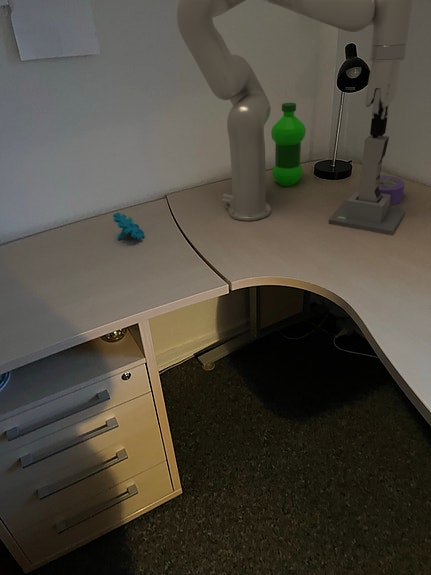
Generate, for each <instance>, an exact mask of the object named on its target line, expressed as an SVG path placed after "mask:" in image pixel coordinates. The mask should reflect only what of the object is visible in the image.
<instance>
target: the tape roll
mask: <svg viewBox="0 0 431 575" xmlns="http://www.w3.org/2000/svg"><path fill="white" fill-rule="evenodd" d="M379 190H380V193H383V194H389V195H391V197H390V203H389V206H393V205H398V204H399V203H401V202H402V201H403V196H404V192H405V181H404V180H403V179H401V178H400V177H397V176H392V175H385V174H384V175H381V174H380V180H379Z"/></svg>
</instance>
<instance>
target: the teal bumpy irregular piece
mask: <svg viewBox="0 0 431 575" xmlns="http://www.w3.org/2000/svg"><path fill="white" fill-rule="evenodd" d="M112 217H113V222H114V223H116V224H117V228H119V229H121V231H120V233H119V234H118V235H117V237H116V240H117V241H120V240H121V239H122V238H123V237H124V235H128V234H129V233H130V234H131V236H130V237H132V238H133V239H136V238H137V240H142V239H143V238H144V237H145V234H144V230H143V229H141V228H140V224H138V223H135V222H134V220H133V218H132V217H131V216H128V217H127V215H126V214H124V213H122V214H121V213H120V212H118V211H117V212H116V213H115V212H114V214H113V215H112Z"/></svg>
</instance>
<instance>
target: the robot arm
mask: <svg viewBox="0 0 431 575" xmlns="http://www.w3.org/2000/svg"><path fill="white" fill-rule="evenodd" d="M246 1H247V0H178V3H177V9H176V22H177V27H178V30H179V33H180V36H181V37H182V38H181V39H182V40H183V41H184V43H185V45H186V47H187V49H188V50H189V52H190V53H191V56H192V57H193V59H194V61H195V64H196V65H197V67H198V69H199V70H200V73H201V74H202V76H203V77H204V80H205V81H206V83H207V85H208V87H209V88H210V90H211V92H212V93H213V95H214V96H215V97H216V98H218V99H220V100H223V101H229V102H231V105H232V107H231V108H230V110H229V112H228V115H227V119H226V127H227V128H226V129H227V135H228V142H229V150H230V166H231V170H230V171H231V188H232V191H231V192H232V194H230V193H226V192H225V193H223V195H222V199H221V200H222V203H224V204H228V205H229V206H228V208H227V212H228V215H229V217H231V218H232V219H235V220H239V221H246V222H247V221H248V222H249V221H258V220H261V219H264V218H267V217H268V216H269V215H270V214H271V212H272V206H271V205H270V204H269V203H268V202H266V200H267V199H266V196H267V195H266V193H267V192H266V145H265V144H266V143H265V142H266V141H265V125H266V123H267V122H268V120H269V118H270V115H271V104H270V100H269V99H268V96H267V94H266V92H265V91H264V89H263V87H262V85H261V83H260V81H259V79H258V77H257V76H256V73H255V72H254V69H253V68H252V66H251V64H250V63H249V62H248V61H247V59H245V57H243V56H240V55H238V54H232V53H231V50H229V48H228V46H227V44H226V42H225V39H224V38H223V36H222V35H221V33H220V32H219V30H218V29H217V28H216V25H215V24H214V18H216V17H219V16H221V15H223V14H226V13H227V12H228V11H230V10H231V9H234V8H235V7H237V6H238V5H241V4H242V3H244V2H246ZM263 1H264V2H267V3H270V4H273V5H276V6H277V7H281V8H283V9H287V10H289V11H292V12H293V13H296V14H298V15H302V16H305V17H308V18H310V19H312V20H316V21H318V22H320V23H323V24H325V25H328V26H331V27H334V28H336V29H339V30H342V31H346V32H349V33H357V32H360V31H363V30H364V29H366V28H367V27H369V26H373V29H372V37H371V38H372V39H371V47H370V57H369V61H371V67H370V71H369V75H368V82H367V89H366V94H365V95H366V96H365V101H364V104H365V107H366V108H369V107H371V106H372V110H371V111H372V112H371V122H370V132H369V134H370V135H376V136H385V134H386V132H387V131H386V130H387V125H388V124H387V123H388V115H389V109H390V104H391V103H393V101H394V100H395V99H396V93H397V89H398V88H397V87H398V83H399V82H398V81H399V72H400V62H402V61H404V60H405V56H406V50H407V45H408V36H409V32H410V31H409V30H410V24H411V23H410V22H411V17H412V16H411V15H412V9H413V3H414V0H263ZM370 135H369V136H370Z"/></svg>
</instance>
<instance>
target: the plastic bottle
mask: <svg viewBox="0 0 431 575" xmlns="http://www.w3.org/2000/svg"><path fill="white" fill-rule="evenodd" d="M281 111H282V113H283V116H281V118H279V120H277V121H276V123H274V125H273V126H272V129H271V139H272V140H273V141H274V143H275V149H274V150H275V158H274V159H275V160H274V161H275V162H274V163H275V164H274V166H273V169H272V170H271V171H272V172H271V173H272V174H271V175H272V177H273V179H274V180H275V182H277V183H278V184H279V185H280V186H283V187H291V185H292V186H294V185H295V184H297V183H298V182H299V181H300V179H301V178H302V175H303V173H304V170H303V166H302V164H301V148H302V146H301V145H302V141H303V140H304V139H305V136H306V126H305V124H304V123H303V122H302V121H301V120H300V119H299V118H297V117H296V116H295V112H296V111H297V103H296V102H284V103H282V104H281Z"/></svg>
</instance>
